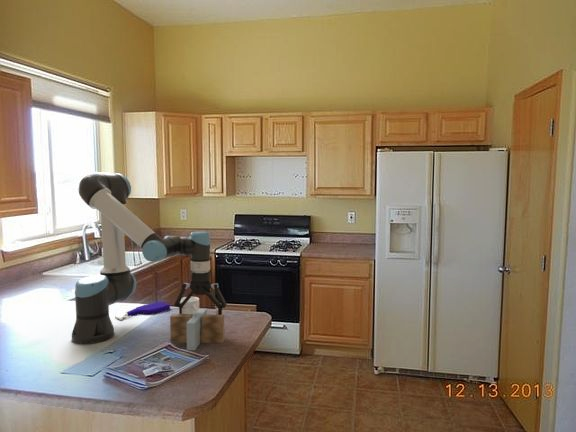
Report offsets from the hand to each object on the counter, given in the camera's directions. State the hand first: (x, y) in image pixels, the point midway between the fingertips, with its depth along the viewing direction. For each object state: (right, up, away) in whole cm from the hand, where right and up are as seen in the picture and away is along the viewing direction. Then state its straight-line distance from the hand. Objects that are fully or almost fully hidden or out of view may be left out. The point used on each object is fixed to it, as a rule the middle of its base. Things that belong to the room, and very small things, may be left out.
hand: (200, 324), depth 165 cm
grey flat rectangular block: (0, -5, -5) cm, 7 cm away
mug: (-7, -4, +14) cm, 16 cm away
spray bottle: (-33, -3, +30) cm, 45 cm away
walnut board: (0, -5, -5) cm, 7 cm away
